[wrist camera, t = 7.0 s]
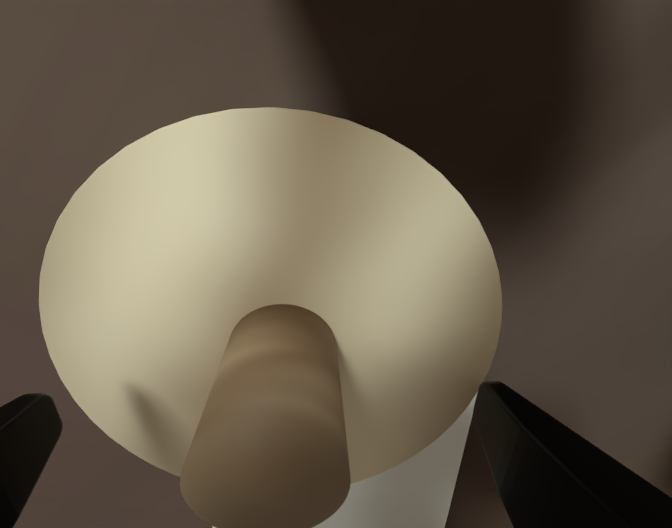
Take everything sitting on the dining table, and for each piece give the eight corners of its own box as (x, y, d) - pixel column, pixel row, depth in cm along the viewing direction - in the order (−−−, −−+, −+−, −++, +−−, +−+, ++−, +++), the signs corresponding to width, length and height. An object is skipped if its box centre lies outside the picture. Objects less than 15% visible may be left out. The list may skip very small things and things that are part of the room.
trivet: (483, 337, 17) (489, 345, 16) (440, 518, 22) (444, 528, 22) (183, 343, 16) (178, 351, 15) (218, 531, 21) (215, 542, 21)
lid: (533, 113, 8) (766, 116, 4) (452, 463, 13) (519, 629, 8) (-11, 101, 7) (-437, 87, 3) (119, 479, 12) (19, 670, 8)
